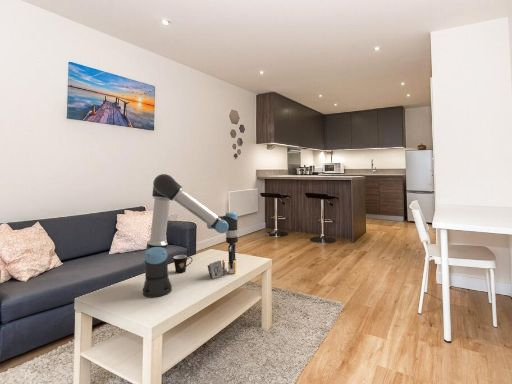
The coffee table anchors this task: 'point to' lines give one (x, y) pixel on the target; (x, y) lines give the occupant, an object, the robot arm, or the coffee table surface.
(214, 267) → the electrical switch
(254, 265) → the coffee table surface
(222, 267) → the brass peg
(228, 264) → the yellow upright square block
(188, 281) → the coffee table surface
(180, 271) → the coffee mug
